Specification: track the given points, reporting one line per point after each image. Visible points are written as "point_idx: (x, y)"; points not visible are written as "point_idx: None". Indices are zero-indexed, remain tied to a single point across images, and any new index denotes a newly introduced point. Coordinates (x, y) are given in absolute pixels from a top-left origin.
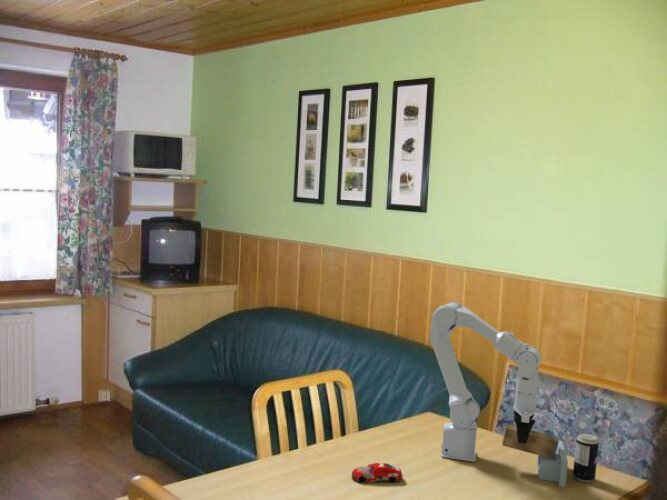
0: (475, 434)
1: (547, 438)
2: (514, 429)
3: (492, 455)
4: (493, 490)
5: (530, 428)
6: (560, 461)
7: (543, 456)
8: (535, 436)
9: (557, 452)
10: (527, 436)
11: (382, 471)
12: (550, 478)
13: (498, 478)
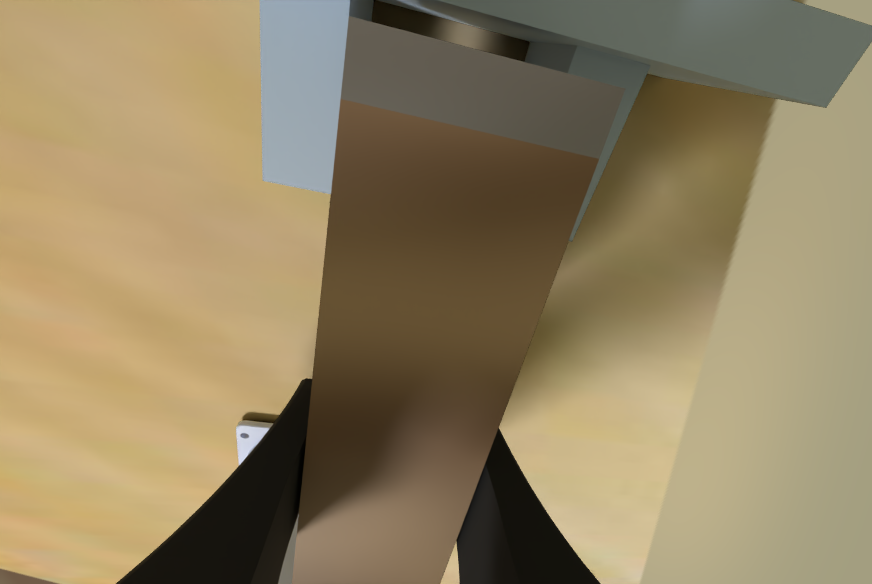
0: (294, 556)
1: (531, 265)
2: (415, 565)
3: (238, 359)
4: (652, 409)
5: (593, 581)
6: (690, 74)
7: None
8: (504, 403)
9: None
10: (513, 465)
11: None
12: None
13: (533, 377)
